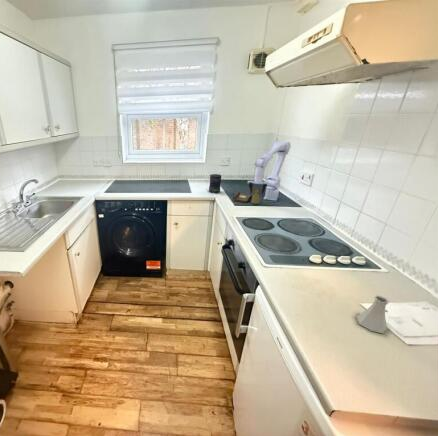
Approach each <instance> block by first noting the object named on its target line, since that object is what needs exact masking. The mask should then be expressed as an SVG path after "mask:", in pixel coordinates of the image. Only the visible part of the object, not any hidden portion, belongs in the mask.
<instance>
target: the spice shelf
mask: <svg viewBox="0 0 438 436" xmlns="http://www.w3.org/2000/svg"><path fill="white" fill-rule="evenodd" d="M251 197H252V195H251V194H247V193H241V190H238V191H237V192H236V193H235V194H234V195H233V200H232V201H233V202H237V203H244V204H247V203H248V201H249V200H250V198H251Z"/></svg>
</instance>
